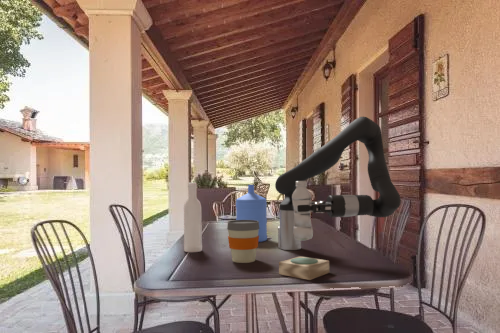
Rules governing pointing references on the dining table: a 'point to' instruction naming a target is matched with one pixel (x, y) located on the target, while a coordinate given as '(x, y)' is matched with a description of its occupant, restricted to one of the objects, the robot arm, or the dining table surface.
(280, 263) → the base block
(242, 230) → the reusable coffee cup
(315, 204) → the robot arm
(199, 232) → the bottle
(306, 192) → the plastic bottle
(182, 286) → the dining table surface
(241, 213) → the water jug
